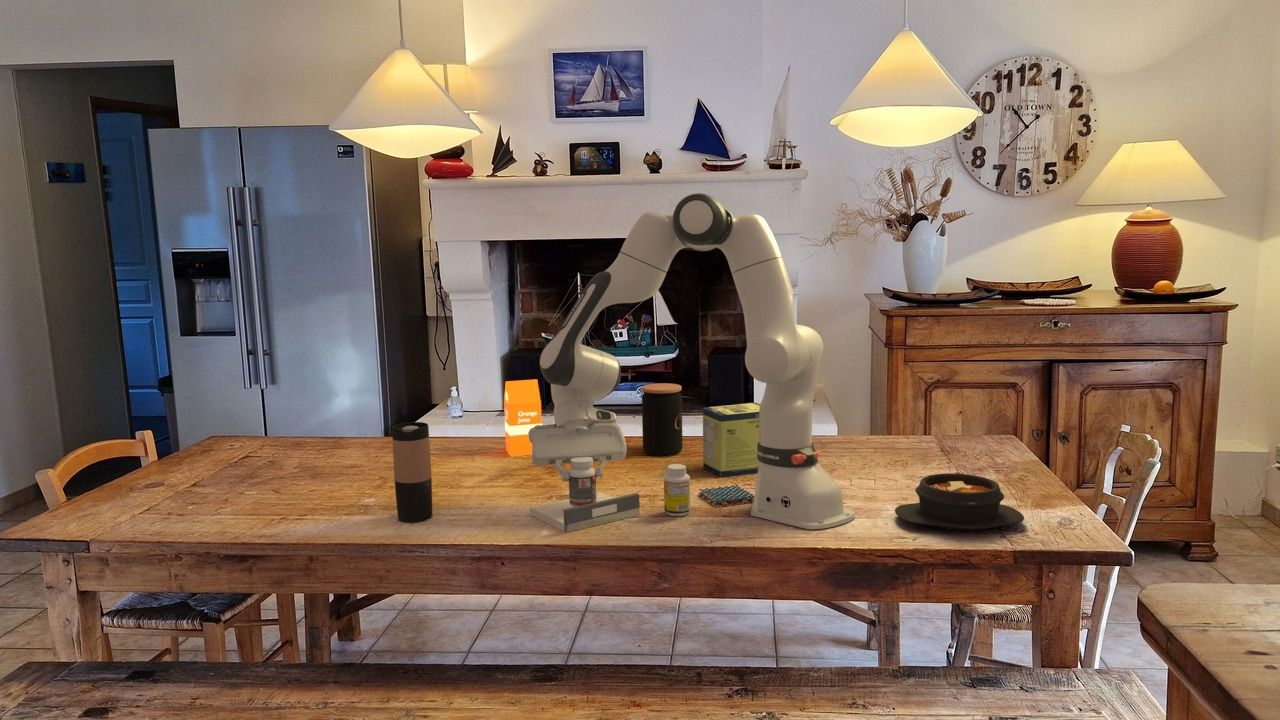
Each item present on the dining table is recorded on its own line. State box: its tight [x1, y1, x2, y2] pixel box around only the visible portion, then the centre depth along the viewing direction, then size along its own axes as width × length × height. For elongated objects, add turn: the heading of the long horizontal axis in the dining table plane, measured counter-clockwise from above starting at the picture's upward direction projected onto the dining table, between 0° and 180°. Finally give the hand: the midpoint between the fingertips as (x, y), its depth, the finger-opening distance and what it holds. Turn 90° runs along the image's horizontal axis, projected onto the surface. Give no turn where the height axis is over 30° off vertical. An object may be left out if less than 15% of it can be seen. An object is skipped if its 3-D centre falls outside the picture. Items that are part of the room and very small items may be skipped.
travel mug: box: [391, 421, 433, 524], centre depth 196 cm, size 8×8×20 cm
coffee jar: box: [641, 382, 683, 457], centre depth 249 cm, size 11×11×18 cm
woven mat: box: [697, 484, 754, 508], centre depth 207 cm, size 10×11×2 cm
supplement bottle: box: [663, 463, 691, 517], centre depth 197 cm, size 6×6×10 cm
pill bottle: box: [568, 456, 597, 507], centre depth 195 cm, size 6×6×10 cm
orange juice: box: [503, 378, 543, 457], centre depth 251 cm, size 8×9×20 cm
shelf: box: [529, 491, 641, 533], centre depth 197 cm, size 15×18×4 cm
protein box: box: [702, 402, 761, 478], centre depth 231 cm, size 10×16×16 cm
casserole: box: [894, 472, 1025, 532], centre depth 188 cm, size 25×19×8 cm
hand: (582, 478), depth 194 cm, fingers closed on pill bottle, 6 cm apart
